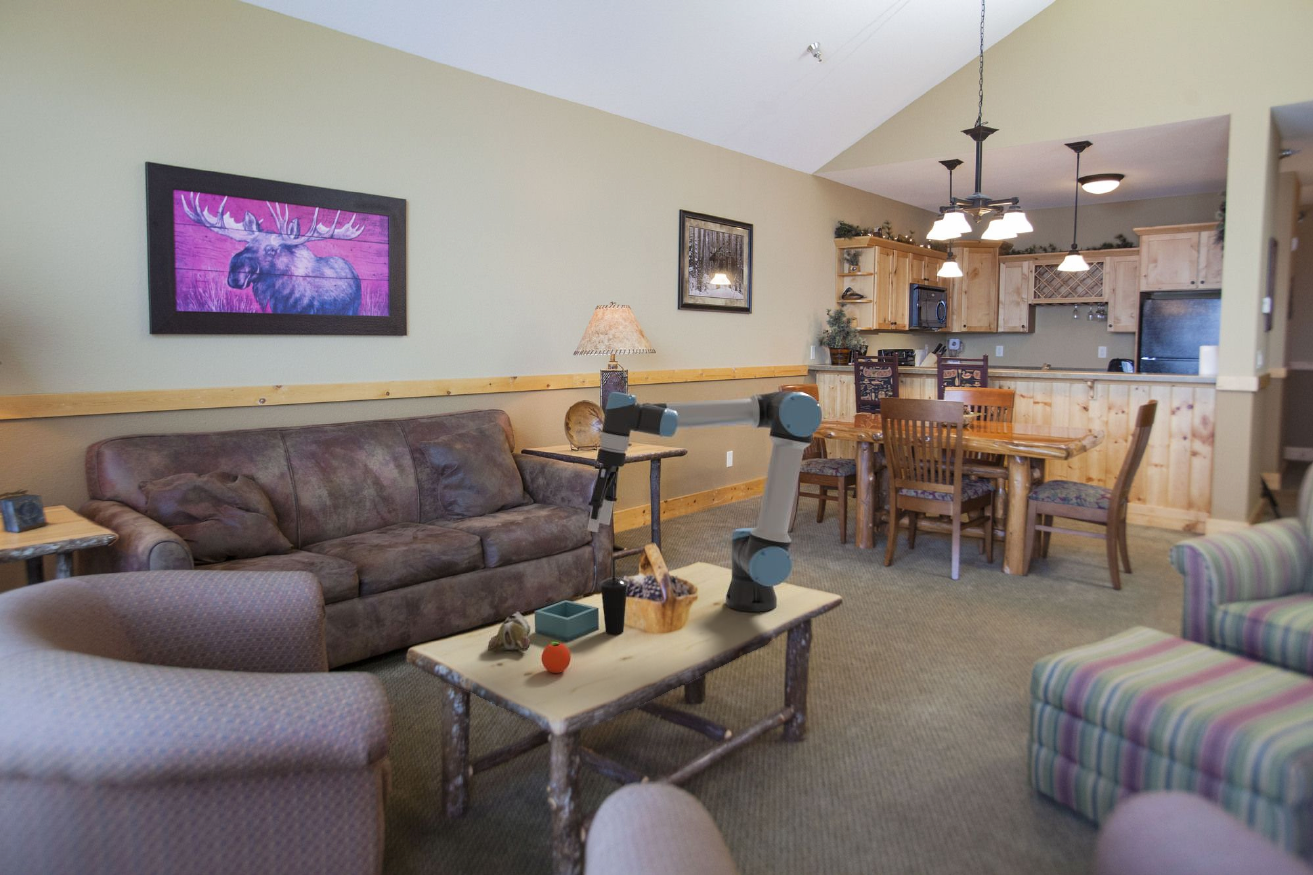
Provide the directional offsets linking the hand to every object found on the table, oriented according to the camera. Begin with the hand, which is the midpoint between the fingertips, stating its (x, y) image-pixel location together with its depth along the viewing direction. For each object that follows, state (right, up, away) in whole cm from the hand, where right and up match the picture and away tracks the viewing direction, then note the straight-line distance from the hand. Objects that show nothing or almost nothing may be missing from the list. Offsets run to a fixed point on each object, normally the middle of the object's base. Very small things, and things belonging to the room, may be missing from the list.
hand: (598, 527), depth 217 cm
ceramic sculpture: (-21, -30, -9) cm, 38 cm away
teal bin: (-9, -28, +2) cm, 30 cm away
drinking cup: (+4, -29, +1) cm, 29 cm away
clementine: (-8, -32, -25) cm, 41 cm away
